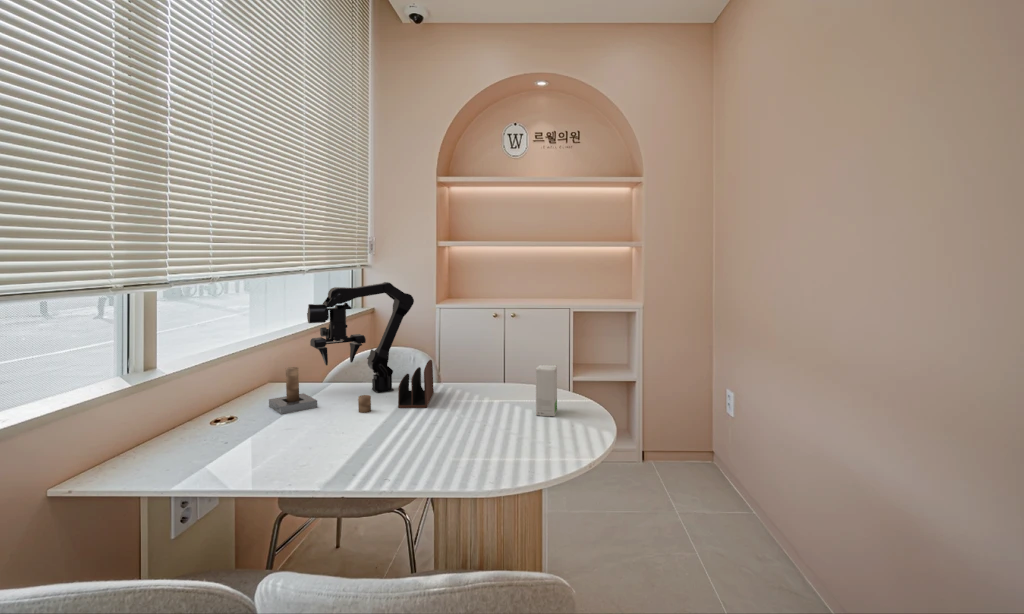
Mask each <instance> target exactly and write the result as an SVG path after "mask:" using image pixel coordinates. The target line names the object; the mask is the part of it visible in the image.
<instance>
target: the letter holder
mask: <svg viewBox="0 0 1024 614" xmlns="http://www.w3.org/2000/svg"><path fill="white" fill-rule="evenodd" d="M433 369H434V368H433V360H432V359H429V360H428V361H427V362H426V365H425V367H424V370H423V385H424V389H423V386H422V368H421V366H418V367H417V368H416V369H415V371H414V372H413V374H412V377H411V381H410V374H409V373H406V374H405V375H404V376H403V378H402V379H401V381H399V385H398V395H397V396H398V400H397V404H398V405H397V408H398V409H427V408H428V406H429V404H430V402H431V400H432V397H433V396H434V370H433ZM410 382H411V383H410ZM410 384H411V385H410ZM410 386H411V390H410Z"/></svg>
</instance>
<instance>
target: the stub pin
mask: <svg viewBox="0 0 1024 614" xmlns="http://www.w3.org/2000/svg"><path fill="white" fill-rule="evenodd" d="M371 397H372V396H371V395H369V394H363V395H362V394H361V395H359V396H358V398H357V401H358V403H357V404H358V413H360V414H367V413H371V411H372V406H371V405H372V398H371Z"/></svg>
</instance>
